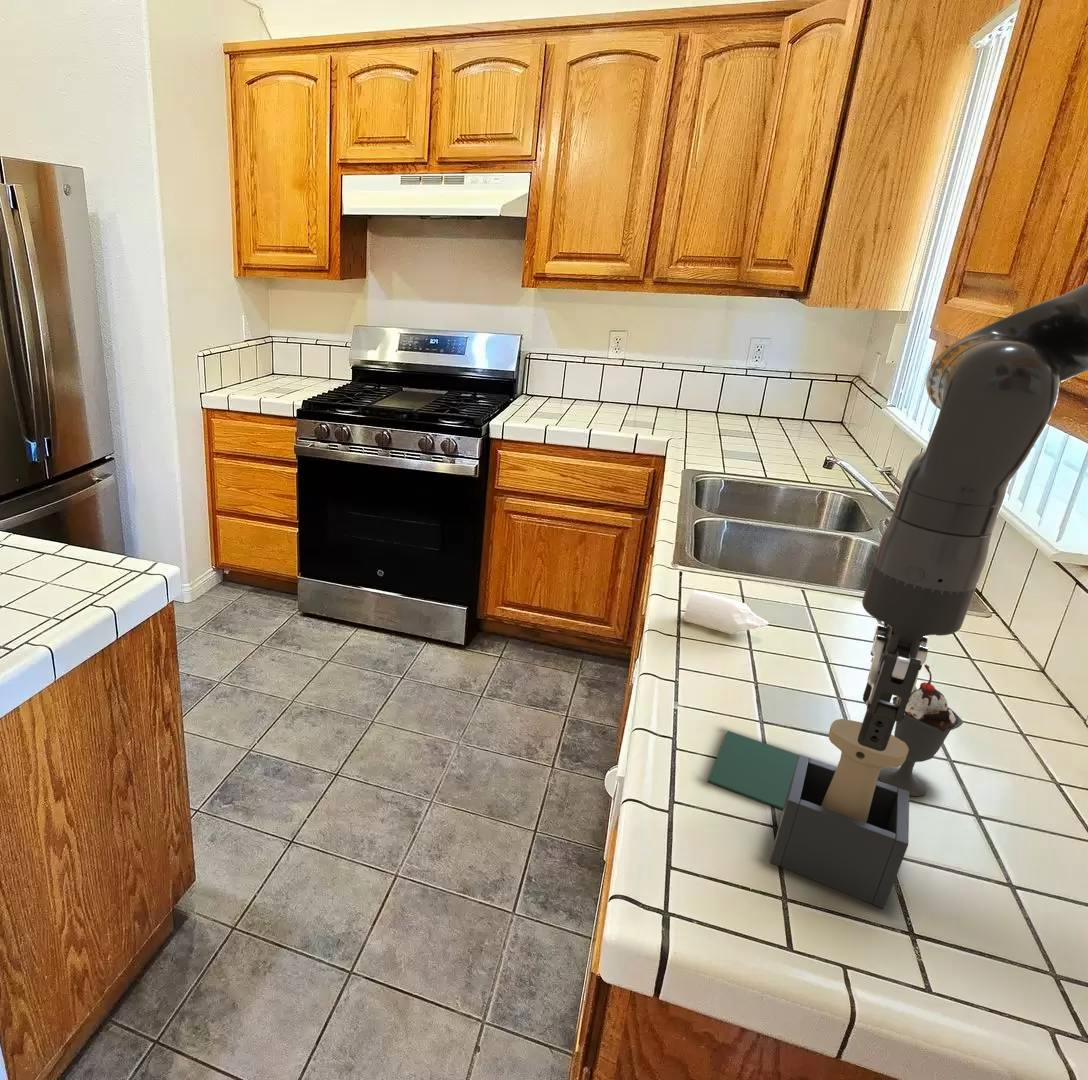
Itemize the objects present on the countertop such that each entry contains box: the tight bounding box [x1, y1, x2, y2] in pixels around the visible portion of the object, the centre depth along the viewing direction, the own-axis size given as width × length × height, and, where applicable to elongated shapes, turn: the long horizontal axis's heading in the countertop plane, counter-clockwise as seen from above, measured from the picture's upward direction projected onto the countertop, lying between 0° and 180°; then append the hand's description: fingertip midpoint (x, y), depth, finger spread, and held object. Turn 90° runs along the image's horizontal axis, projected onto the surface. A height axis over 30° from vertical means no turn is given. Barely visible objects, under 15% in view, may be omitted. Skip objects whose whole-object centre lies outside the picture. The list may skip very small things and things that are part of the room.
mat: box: [707, 730, 799, 811], centre depth 90 cm, size 14×12×1 cm
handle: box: [821, 718, 909, 823], centre depth 76 cm, size 5×6×15 cm
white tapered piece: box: [683, 590, 769, 635], centre depth 123 cm, size 6×12×6 cm, turn 51°
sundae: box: [878, 663, 964, 797], centre depth 87 cm, size 7×7×15 cm
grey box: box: [769, 753, 910, 910], centre depth 77 cm, size 10×9×8 cm
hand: (872, 724), depth 72 cm, fingers open, 8 cm apart
